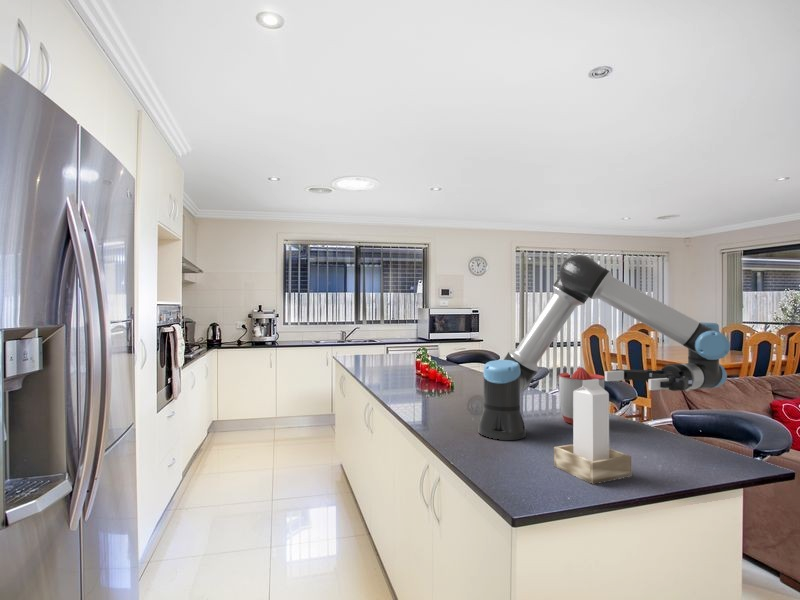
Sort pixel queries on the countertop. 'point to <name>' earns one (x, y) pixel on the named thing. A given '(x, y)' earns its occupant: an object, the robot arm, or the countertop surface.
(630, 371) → the robot arm
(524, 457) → the countertop surface
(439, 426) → the countertop surface
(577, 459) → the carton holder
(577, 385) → the citrus juicer
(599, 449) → the milk
